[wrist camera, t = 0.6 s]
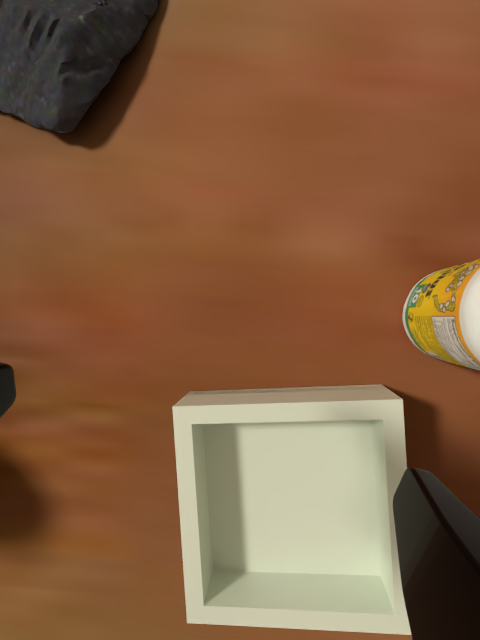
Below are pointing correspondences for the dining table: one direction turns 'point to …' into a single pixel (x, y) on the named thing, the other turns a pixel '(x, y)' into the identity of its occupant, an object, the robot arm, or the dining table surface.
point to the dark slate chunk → (63, 55)
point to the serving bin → (291, 507)
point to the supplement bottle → (447, 315)
